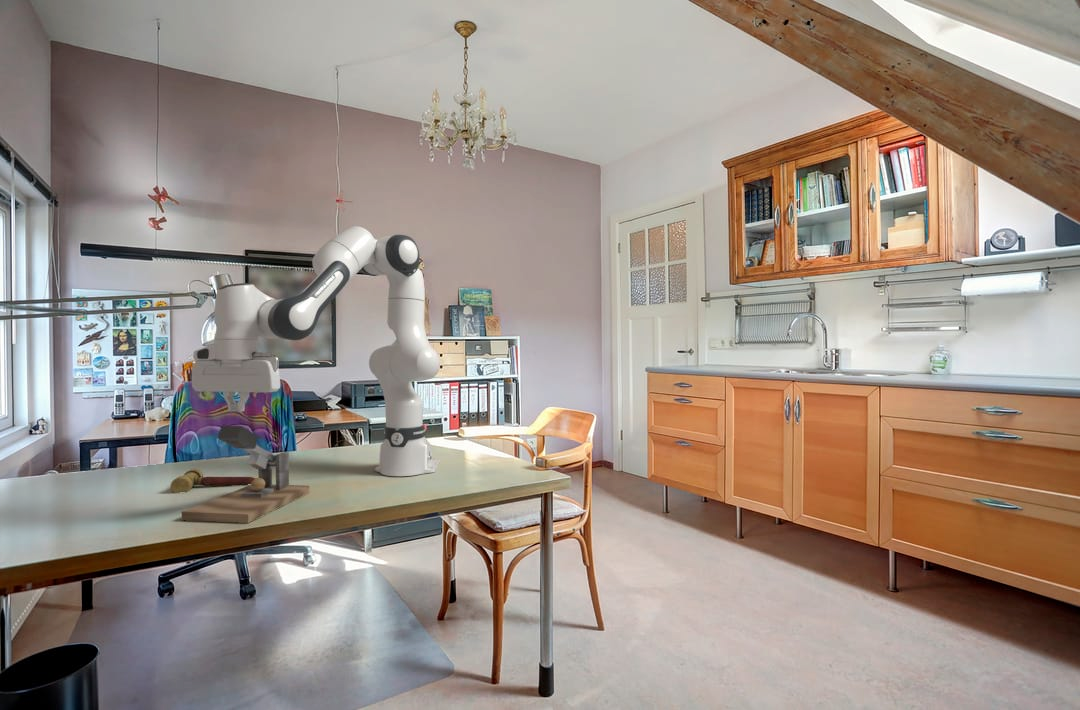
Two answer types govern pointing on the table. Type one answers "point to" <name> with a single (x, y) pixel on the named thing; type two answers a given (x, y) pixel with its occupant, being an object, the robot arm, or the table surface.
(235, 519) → the nutcracker base
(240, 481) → the gavel
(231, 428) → the lever
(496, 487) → the table surface
